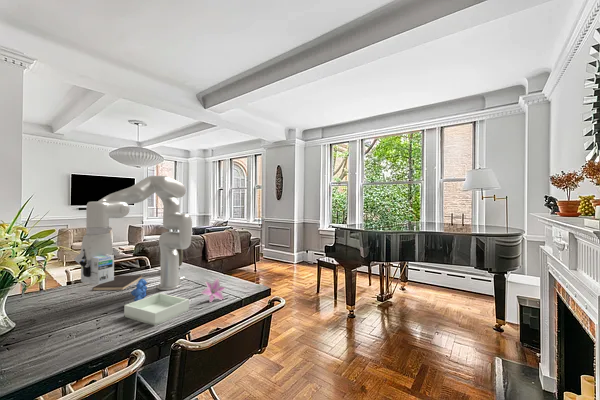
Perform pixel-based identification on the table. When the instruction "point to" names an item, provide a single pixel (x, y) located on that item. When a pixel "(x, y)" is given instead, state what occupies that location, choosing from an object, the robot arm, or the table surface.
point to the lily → (214, 290)
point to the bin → (156, 308)
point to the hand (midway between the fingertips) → (97, 273)
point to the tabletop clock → (179, 257)
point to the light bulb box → (100, 270)
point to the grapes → (140, 290)
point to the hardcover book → (118, 282)
